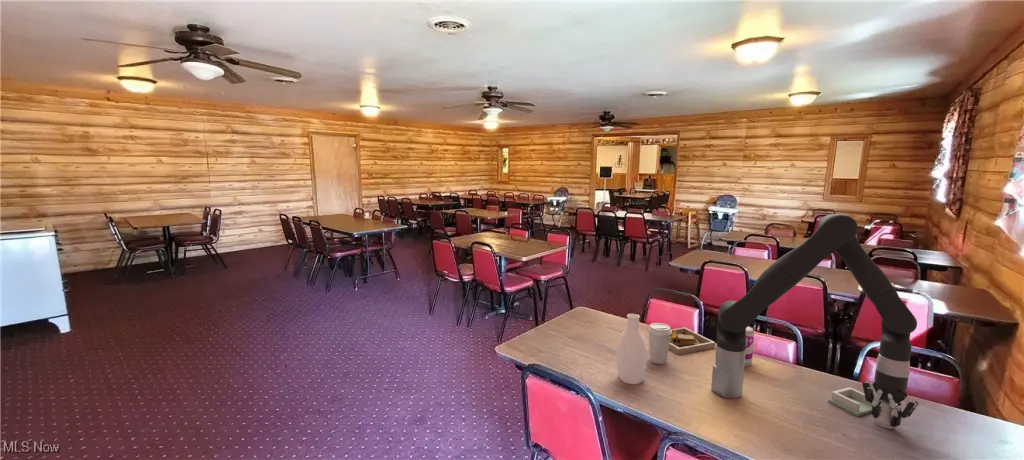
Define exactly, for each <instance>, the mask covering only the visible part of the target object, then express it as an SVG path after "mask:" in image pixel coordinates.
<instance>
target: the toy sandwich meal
mask: <svg viewBox="0 0 1024 460" xmlns="http://www.w3.org/2000/svg"><path fill="white" fill-rule="evenodd" d="M670 343H672V344H673V343H674V345H675V344H676V345H675V346H677V345H678V346H677V347H681V346H682V347H687V346H692V345H697V344H700V341H698V340H697V339H695V338H694V337H693V336H691V335H687V334H684V333H683V334H676V330H674V332H673V334H672V335H671V336H670Z"/></svg>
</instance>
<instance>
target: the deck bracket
mask: <svg viewBox="0 0 1024 460" xmlns="http://www.w3.org/2000/svg"><path fill="white" fill-rule="evenodd" d="M827 403H829V404H831V405H833V406H835V407H837V408H839V409H841V410H842V411H845V412H848V413H849V414H851V415H854V416H856V417H860V416H863V415H867V414H870V413H871V412H872V404H871V403H870V402H867V401H866V399H865V394H864V392H862V391H859V390H857V389H854V388H852V387H850V386H849V387H846V388H845V387H844V388H841V389H838V390H834V391H832V392H831V397H830V398H829V399H827Z"/></svg>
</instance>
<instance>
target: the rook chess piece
mask: <svg viewBox="0 0 1024 460" xmlns="http://www.w3.org/2000/svg"><path fill="white" fill-rule="evenodd" d="M892 415H893V410H892V408H891V406H890V403H888V402H887V401H884V400H882V402H881V410H880V415H879V416H878V417H877V418H875V424H877V426H879V427H881V428H883V429H886V430H893V429H894V428H895V427H892V426H891V421H892Z"/></svg>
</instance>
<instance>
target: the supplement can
mask: <svg viewBox="0 0 1024 460" xmlns="http://www.w3.org/2000/svg"><path fill="white" fill-rule="evenodd" d="M754 343H755V331H754V328H753V327H751V326H750V325H749V326H748V327H747V328H746V351H745V363H744V367H748V366H750V365H752V363H753V355H754V346H755V345H754Z"/></svg>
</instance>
